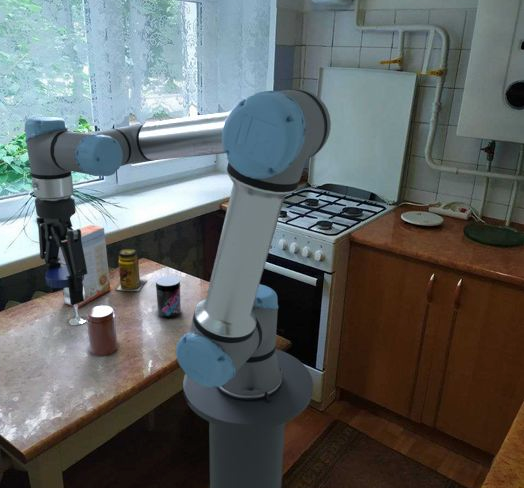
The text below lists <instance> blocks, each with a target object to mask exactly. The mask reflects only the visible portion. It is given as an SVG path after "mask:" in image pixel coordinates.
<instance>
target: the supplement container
mask: <svg viewBox="0 0 524 488" xmlns="http://www.w3.org/2000/svg"><path fill="white" fill-rule="evenodd" d="M155 290H156V291H155V292H156V293H155V294H156V309H157V311H156V312H157V315H158V316H159V317H161V318H163V319H173V318H176V317H178V316H179V315H180V314H181V312H182V306H181V305H182V303H181V301H182V300H181V279H180V278H179V277H178V276H175V275H164V276H160V277H157V278H156V279H155Z"/></svg>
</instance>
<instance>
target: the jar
mask: <svg viewBox="0 0 524 488" xmlns="http://www.w3.org/2000/svg"><path fill="white" fill-rule="evenodd" d="M86 314H87V317H86V326H87V327H86V328H87V334H88V344H89V351H90V353H91V354H92V355H94V356H98V357H99V356H108V355H110V354H113V353H115V352H116V351H117V350H118V347H119V346H118V335H117V325H116V316H115V313H114V308H112V306H110V305H97V306H93V307H91V308H90V309H88V310H87V313H86Z"/></svg>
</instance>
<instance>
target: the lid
mask: <svg viewBox="0 0 524 488" xmlns="http://www.w3.org/2000/svg"><path fill="white" fill-rule="evenodd" d="M44 276H45V277H44V280H45V284H46V285H47V286H48V287H49V288H50V287H53V288H68V279H67V276H70V275H69V272H68V269H67V266H61V267H56V268H53V269H51V270H49V271H48V270H47V271H46V272H45V275H44ZM81 279H82V282H83V280H84V275H83V276H81Z"/></svg>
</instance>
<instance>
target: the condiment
mask: <svg viewBox="0 0 524 488" xmlns="http://www.w3.org/2000/svg"><path fill="white" fill-rule="evenodd" d="M139 264H140V263H139V258H138V255H137V250H135V249H132V248H125V249H122V250H120V251H119V252H118V271H119V286H117V288H116V289H115V290H116V291H124V292H140V290H141V289H142V288H143V286H144V285H145V283H146V282H147V279H141V278H140V266H139Z"/></svg>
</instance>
